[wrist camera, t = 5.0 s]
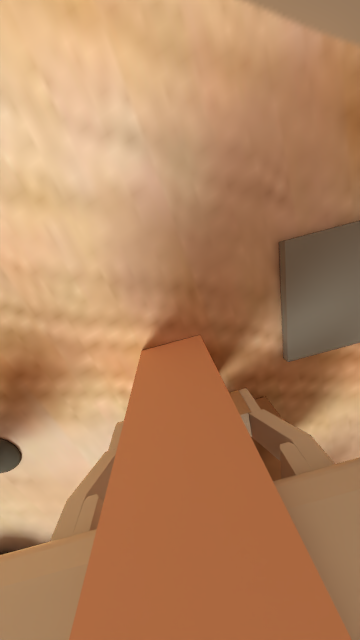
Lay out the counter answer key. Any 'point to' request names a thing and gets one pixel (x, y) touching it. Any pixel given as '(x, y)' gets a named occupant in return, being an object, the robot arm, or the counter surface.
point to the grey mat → (320, 291)
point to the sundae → (8, 456)
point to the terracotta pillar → (196, 523)
